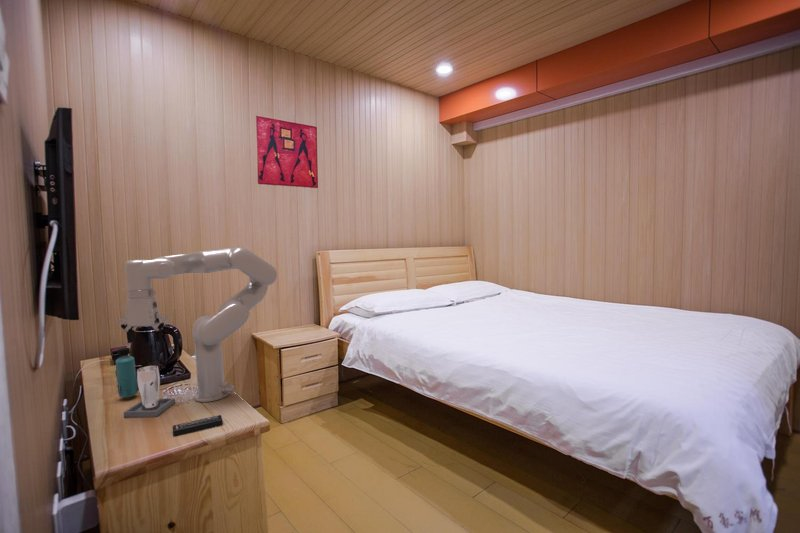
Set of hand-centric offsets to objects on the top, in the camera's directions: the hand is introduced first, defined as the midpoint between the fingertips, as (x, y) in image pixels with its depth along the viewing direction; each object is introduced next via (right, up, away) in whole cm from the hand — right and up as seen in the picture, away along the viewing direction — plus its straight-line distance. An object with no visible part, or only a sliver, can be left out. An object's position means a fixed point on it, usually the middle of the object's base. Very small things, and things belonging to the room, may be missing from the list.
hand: (145, 341), depth 150 cm
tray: (+1, -25, +2) cm, 25 cm away
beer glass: (+1, -25, +2) cm, 25 cm away
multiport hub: (+25, -27, -13) cm, 39 cm away
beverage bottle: (-15, -25, +14) cm, 33 cm away
